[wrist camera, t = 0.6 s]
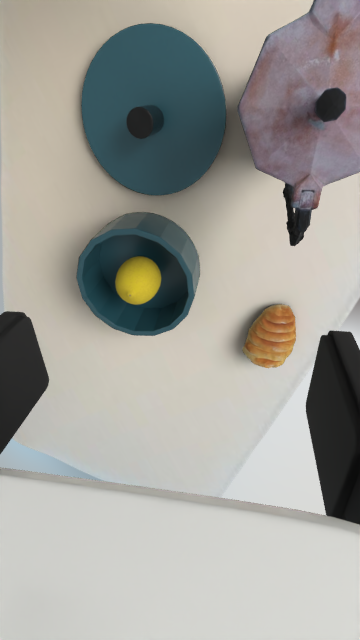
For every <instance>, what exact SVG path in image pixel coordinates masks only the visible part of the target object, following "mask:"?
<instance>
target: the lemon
mask: <svg viewBox="0 0 360 640" xmlns="http://www.w3.org/2000/svg"><path fill="white" fill-rule="evenodd" d="M160 284H161V273H160V270H159V268H158V266H157V265H156V263H155V262H154V261H152V260H151V259H149V258H147V257H143V256H136V257H132V258H130V259H128V260H127V261H125V262H124V263H123V264H122V265H121V266H120V268H119V270H118V272H117V275H116V280H115V285H116V290H117V293H118V294H119V296H120V297H121V298H122V299H123V300H124V301H126V302H127V303H130V304H135V305H138V304H143V303H146V302H147V301H149V300H151V299H152V298H153V297H154V296H155V294H156V293H157V292H158V290H159V287H160Z"/></svg>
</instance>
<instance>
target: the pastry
mask: <svg viewBox="0 0 360 640" xmlns="http://www.w3.org/2000/svg"><path fill="white" fill-rule="evenodd" d="M295 331H296V328H295V316H294V314H293V312H292V310H291V308H290V307H289V306H287V305H282V304H277V305H272V306H270V307H268V308H266V309H265V310H264V311H263V313H261V315H260V316H259V317H258V318H257V319H256V321H254V322H253V324H252V326H251V327H250V329H249V330H248V337H247V338H246V342H245V345H244V347H243V349H242V350H243V353H244V354H245V355H246V356H247V358H249V359H250V360H251V362H253V363H254V364H256V365H258V366H261V367H265V368H271V367H278V366H280V365H282V364H283V363H284V361H285V359H286V358H287V357H288V356H289V355H290V353H291V352H292V349H293V345H294V343H295V341H296V338H295V337H296V332H295Z"/></svg>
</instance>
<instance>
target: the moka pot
mask: <svg viewBox="0 0 360 640" xmlns="http://www.w3.org/2000/svg"><path fill="white" fill-rule="evenodd" d="M238 113H239V117H240V120H241V123H242V126H243V129H244V132H245V135H246V138H247V141H248V144H249V147H250V150H251V154H252V157H253V160H254V164H255V167H256V169H258V170H260V171H262V172H264V173H266V174H269V175H271V176H273V177H275V178H277V179H279V180H282V181H284V182H285V188H284V190H283V194H284V198H285V200H286V209H287V217H288V222H287V223H286V224H287V230H288V232H289V235H290V238H289V239H290V245H291V246H295V245H296V244H298V243H299V242H300V241H301V240H302V239H303V237H304V232H305V231H306V230H307V228H308V227H309V225H310V219H311V212H312V210H313V209H316V208H317V207H318V205H319V200H320V195H321V191H322V187H323V186H325V185H327V184H329V183H332V182H335V181H338V180H340V179H343V178H345V177H348V176H351V175H353V174H356V173H358V172H360V0H314V2H313V4H312V6H311V8H310V11H309V12H308V13H307V14H305V15H303V16H302V17H300V18H298V19H297V20H295V21H293V22H291V23H289V24H287V25H285V26H283V27H282V28H280V29H278V30H276V31H274V32H272V33H271V34H269V35H268V36H267V37H266V39H265V41H264V44H263V46H262V49H261V51H260V54H259V56H258V59H257V61H256V64H255V66H254V69H253V71H252V73H251V76H250V78H249V81H248V83H247V86H246V88H245V90H244V93H243V95H242V98H241V100H240V102H239V105H238ZM293 208H295V213H294V212H293Z"/></svg>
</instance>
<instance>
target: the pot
mask: <svg viewBox="0 0 360 640" xmlns="http://www.w3.org/2000/svg"><path fill="white" fill-rule="evenodd" d="M136 256H143V257H147V258H149V259H151V260H152V261H154V262H155V263H156V265H157V266H158V268H159V270H160V273H161V284H160V287H159V290H158V292H157V293H156V294H155V296H154V297H153V298H152V299H151V300H149V301H147V302H146V303H143V304H138V305H135V304H130V303H127V302H126V301H124V300H123V299H122V298H121V297H120V296H119V294H118V293H117V290H116V285H115V280H116V275H117V272H118V270H119V268H120V266H121V265H122V264H123V263H124V262H125V261H127V260H128V259H130V258H132V257H136ZM199 277H200V264H199V257H198V253H197V250H196V248H195V246H194V244H193V242H192V241H191V239H190V237H189V236H188V235H187V234H186V232H185V231H184V230H183V229H182V228H181V227H179V226H178V225H177V224H175V223H174V222H172V221H171V220H169V219H167V218H165V217H163V216H160V215H157V214H153V213H146V212H137V213H130V214H125V215H123V216H121V217H119V218H117V219H116V220H114V221H112V222H110V223H108V224H107V225H106V226H105V227H104V228H103V229H102V230H101V231H100V232H99V233H98V234H97V235H96V236H95V237H94V238H93V239H92V240H91V241H90V242H89V244H88V245H87V247H86V248H85V250H84V251H83V252H82V254H81V255H80V257H79V263H78V270H77V281H78V285H79V288H80V292H81V295H82V298H83V300H84V301H85V302H86V304H87V305H88V306H89V308H90V309H91V311H92V312H93V313H94V315H96V316H97V317H98V318H99V319H101V320H102V321H104V322H105V323H106V324H108V325H109V326H110V327H112V328H114V329H116V330H119V331H122V332H125V333H128V334H131V335H144V336H155V335H158V334H161V333H163V332H166V331H169V330H172V329H174V328H175V327H176V326H177V325H178V324H179V323H180V322H181V321H182V320H183V319H184V318H185V317H186V316H187V315H188V313H189V310H190V307H191V305H192V302H193V299H194V296H195V292H196V289H197V285H198V281H199Z"/></svg>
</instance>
